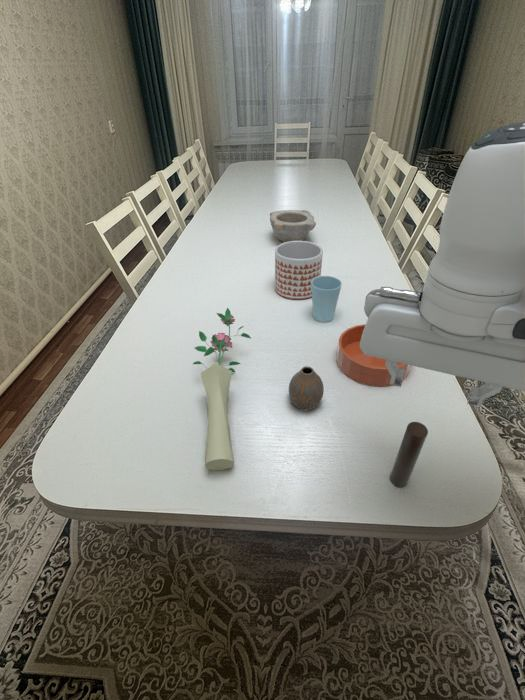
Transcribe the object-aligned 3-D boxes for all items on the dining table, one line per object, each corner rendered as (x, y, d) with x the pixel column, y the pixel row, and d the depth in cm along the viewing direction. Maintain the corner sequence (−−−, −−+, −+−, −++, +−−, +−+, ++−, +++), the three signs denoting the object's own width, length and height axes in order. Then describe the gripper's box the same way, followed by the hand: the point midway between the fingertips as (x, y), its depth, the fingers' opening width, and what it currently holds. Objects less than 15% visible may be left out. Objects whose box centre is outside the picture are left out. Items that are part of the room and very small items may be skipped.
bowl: (413, 350, 85) (418, 333, 82) (404, 395, 74) (409, 377, 71) (346, 335, 91) (348, 318, 88) (328, 374, 80) (330, 357, 76)
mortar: (316, 246, 136) (317, 222, 130) (271, 248, 135) (271, 224, 130) (309, 231, 149) (310, 208, 143) (268, 232, 148) (268, 209, 143)
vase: (325, 394, 75) (328, 362, 69) (318, 418, 70) (321, 386, 64) (293, 387, 77) (294, 355, 71) (284, 410, 72) (284, 378, 66)
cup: (307, 323, 96) (309, 288, 89) (310, 308, 101) (312, 274, 95) (336, 326, 94) (340, 291, 88) (337, 310, 100) (341, 276, 94)
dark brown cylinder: (408, 476, 60) (429, 425, 52) (406, 490, 58) (427, 439, 50) (391, 470, 61) (408, 419, 52) (388, 483, 59) (406, 433, 50)
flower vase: (207, 486, 67) (205, 344, 89) (269, 472, 65) (252, 330, 87) (176, 466, 58) (183, 313, 80) (247, 449, 56) (234, 297, 78)
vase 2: (284, 303, 104) (285, 262, 96) (268, 283, 114) (268, 244, 106) (327, 295, 107) (331, 254, 99) (308, 275, 117) (310, 237, 109)
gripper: (361, 296, 40) (348, 386, 48) (588, 336, 33) (525, 433, 41) (373, 272, 44) (359, 358, 53) (574, 302, 37) (520, 396, 45)
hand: (433, 392), depth 47 cm, fingers open, 8 cm apart
